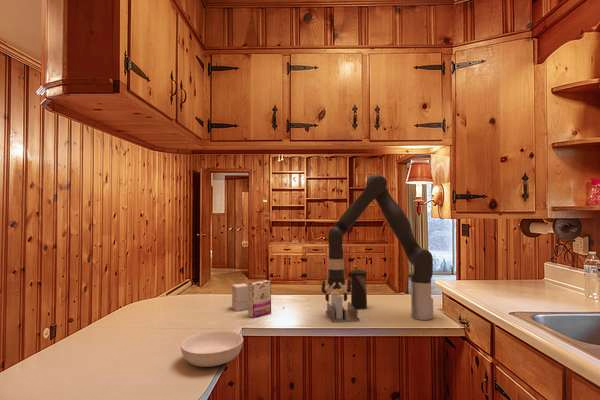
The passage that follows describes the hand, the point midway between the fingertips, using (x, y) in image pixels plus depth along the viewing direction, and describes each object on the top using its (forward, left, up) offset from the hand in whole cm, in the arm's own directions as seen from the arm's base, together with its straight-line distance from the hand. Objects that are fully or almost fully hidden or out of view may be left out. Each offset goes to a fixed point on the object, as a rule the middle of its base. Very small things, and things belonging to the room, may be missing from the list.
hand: (336, 301), depth 168 cm
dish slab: (0, 0, -7) cm, 7 cm away
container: (-16, -15, -8) cm, 23 cm away
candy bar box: (+37, -8, -8) cm, 39 cm away
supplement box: (+47, -20, -8) cm, 52 cm away
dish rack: (-3, 0, -8) cm, 8 cm away
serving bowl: (+53, +43, -8) cm, 69 cm away
